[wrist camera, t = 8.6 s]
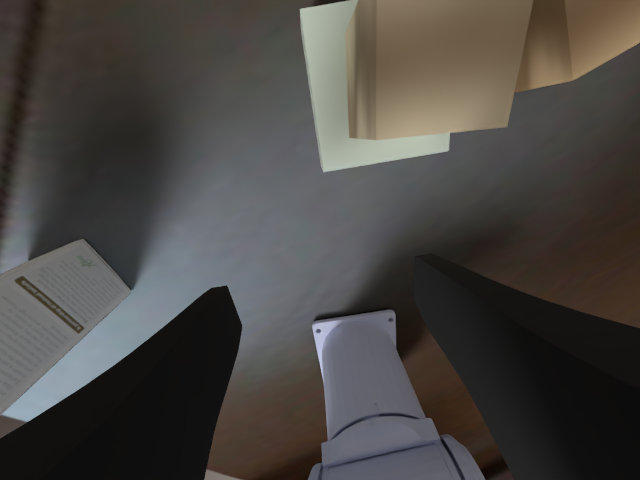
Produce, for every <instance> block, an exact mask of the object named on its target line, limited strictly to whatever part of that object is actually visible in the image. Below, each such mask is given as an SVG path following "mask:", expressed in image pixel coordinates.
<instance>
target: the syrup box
mask: <svg viewBox="0 0 640 480" xmlns="http://www.w3.org/2000/svg"><path fill="white" fill-rule="evenodd" d="M130 293H131V290H130V289H129V288H128V286H127V285H126V284H125V283H124V282H123V280H122V279H121V278H120V277H119V276H118V275H117V274H116V272H115V271H114V270H113V269H112V268H111V267H110V266H109V265H108V264H107V263H106V262H105V261H104V260H103V259H102V258H101V256H100V255H99V254H98V253H97V252H96V251H95V250H94V249H93V248H92V247H91V246H90V245H89V244H88V243H87V242H86V241H85V240H84V239H80V240H77V241H74V242H72V243H69V244H67V245H64V246H62V247H59V248H57V249H54V250H52V251H50V252H48V253H45V254H43V255H41V256H38V257H36V258H34V259H32V260H30V261H27V262H25V263H23V264H21V265H19V266H17V267H14V268H12V269H10V270H8V271H6V272H4V273H1V274H0V415H1V414H2V413H3V412H4V411H5V410H7V409H8V408H9V407H10V406H11V405H12V404H13V403H14V402H15V401H16V400H17V399H19V398H20V397H21V396H22V395H23V394H24V393H25V392H26V391H27V390H28V389H29V388H30V387H31V386H32V385H33V384H34V383H36V382H37V381H38V380H39V379H40V378H41V377H42V376H43V375H44V374H45V373H46V372H47V371H48V370H49V369H51V368H52V367H53V366H54V365H55V364H56V363H57V362H58V361H59V360H60V359H61V358H62V357H63V356H64V355H65V354H66V353H67V352H68V351H70V350H71V349H72V348H73V347H74V346H75V345H76V344H77V343H78V342H79V341H80V340H81V339H82V338H83V337H84V336H86V335H87V334H88V333H89V332H90V331H91V330H92V329H93V328H94V327H95V326H96V325H97V324H98V323H99V322H101V321H102V320H103V319H104V318H105V317H106V316H107V315H108V314H109V313H110V312H111V311H112V310H113V309H114V308H115V307H117V306H118V305H119V304H120V303H121V302H122V301H123V300H124V299H125V298H126V297H127V296H128V295H129V294H130Z"/></svg>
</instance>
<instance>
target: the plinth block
mask: <svg viewBox="0 0 640 480" xmlns="http://www.w3.org/2000/svg"><path fill="white" fill-rule="evenodd" d="M357 2H358V0H348V1H343V2H337V3H332V4H326V5H320V6H315V7H309V8H303V9H300V21H301V34H302V40H303V47H304V54H305V61H306V67H307V74H308V81H309V88H310V95H311V101H312V108H313V115H314V122H315V128H316V135H317V142H318V149H319V155H320V162H321V168H322V170H323V172H327V171H333V170H339V169H345V168H351V167H357V166H363V165H369V164H375V163H381V162H386V161H392V160H398V159H404V158H410V157H416V156H422V155H428V154H434V153H440V152H446V151H449V139H450V133H443V134H433V135H423V136H413V137H403V138H393V139H384V140H367V139H355V138H349V123H348V97H347V71H346V45H345V33H346V30H347V27H348V25H349V22H350V20H351V17H352V15H353V12H354V10H355V7H356V5H357Z"/></svg>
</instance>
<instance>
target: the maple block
mask: <svg viewBox="0 0 640 480" xmlns="http://www.w3.org/2000/svg"><path fill="white" fill-rule="evenodd" d="M532 5H533V0H358V2H357V5H356V7H355V10H354V12H353V15H352V17H351V20H350V22H349V25H348V27H347V30H346V33H345V45H346V71H347V97H348V123H349V138H355V139H367V140H384V139H393V138H403V137H413V136H423V135H433V134H443V133H452V132H462V131H472V130H482V129H492V128H502V127H507V125H508V120H509V115H510V111H511V106H512V101H513V96H514V91H515V86H516V82H517V77H518V72H519V67H520V62H521V58H522V53H523V48H524V43H525V38H526V34H527V29H528V24H529V19H530V14H531V10H532Z"/></svg>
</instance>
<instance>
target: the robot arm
mask: <svg viewBox="0 0 640 480" xmlns="http://www.w3.org/2000/svg"><path fill="white" fill-rule="evenodd" d="M413 299H414V302H415V304H416V306H417V308H418V310H419V312H420V314H421V316H422V318H423V320H424V322H425V324H426V326H427V327H428V329H429V330H430V332H431V333H432V335H433V337H434V338H435V340H436V341H437V343H438V344H439V346H440V347H441V349H442V350H443V352H444V353H445V355H446V357H447V358H448V360H449V361H450V363H451V364H452V366H453V367H454V369H455V370H456V372H457V373H458V375H459V376H460V378H461V380H462V381H463V383H464V385H465V386H466V388H467V390H468V391H469V393H470V395H471V396H472V398H473V400H474V402H475V404H476V406H477V408H478V410H479V411H480V413H481V415H482V417H483V419H484V421H485V423H486V425H487V426H488V428H489V430H490V432H491V434H492V436H493V438H494V440H495V442H496V444H497V446H498V448H499V450H500V452H501V454H502V456H503V458H504V460H505V462H506V464H507V466H508V468H509V470H510V472H511V474H512V476H513V478H514V480H640V328H636V327H633V326H629V325H625V324H622V323H618V322H614V321H611V320H607V319H603V318H600V317H597V316H593V315H590V314H586V313H583V312H580V311H576V310H573V309H570V308H567V307H564V306H561V305H558V304H555V303H552V302H549V301H546V300H543V299H540V298H537V297H534V296H532V295H529V294H526V293H524V292H521V291H519V290H516V289H513V288H511V287H508V286H506V285H503V284H501V283H498V282H496V281H493V280H491V279H489V278H486V277H484V276H482V275H479V274H477V273H475V272H472V271H470V270H468V269H466V268H463V267H461V266H459V265H457V264H454V263H452V262H450V261H448V260H445V259H443V258H441V257H438V256H435V255H433V254H427V255H421V256H415V268H414V298H413ZM389 318H391V319H389ZM312 328H313V333H314V338H315V343H316V348H317V353H318V357H319V362H320V367H321V372H322V377H323V382H324V392H325V405H326V419H327V432H328V441H327V442H324V443H322V463H319V464H316V465H314V467H313V468H312V470H311V473H310V476H309V478H308V480H485V478H484V476H483V474H482V472H481V471H480V469H479V467H478V465H477V464H476V462H475V461H474V459H473V457H472V456H471V454H470V453H469V452H468V450H467V449H466V448H465V447H464V446H463V445H462V444H460V443H459V442H458V441H456V440H455V439H454V438H453V437H452V436H451V435H448V434H445V435H441V436H440V437H439V435H438V432H437V430H436V428H435V426H434V423H433V421H432V419H431V418H425V415H424V413H423V411H422V408H421V406H420V404H419V401H418V399H417V396H416V394H415V392H414V389H413V387H412V385H411V382H410V380H409V378H408V375H407V373H406V371H405V368H404V366H403V364H402V361H401V359H400V357H399V354H398V352H397V350H396V315H395V312H394V311H393V310H383V311H377V312H370V313H364V314H357V315H351V316H344V317H337V318H331V319H324V320H318V321H314V322H313V324H312ZM317 329H320V330H317ZM241 331H242V324H241V321H240V319H239V316H238V313H237V311H236V308H235V305H234V303H233V300H232V297H231V295H230V292H229V289H228V287H227V286H221V287H215V288H211V289H209V290H208V291H206V292H205V293H204V294H203V295H201V296H200V297H199V298H198V299H196V300H195V301H194V302H193V303H192V304H190V305H189V306H188V307H187V308H186V309H185V310H183V311H182V312H181V313H180V314H179V315H177V316H176V317H175V318H174V319H173V320H171V321H170V322H169V323H168V324H167V325H165V326H164V327H163V328H162V329H161V330H159V331H158V332H157V333H156V334H154V335H153V336H152V337H150V338H149V339H148V340H147V341H145V342H144V343H143V344H142V345H140V346H139V347H138V348H137V349H135V350H134V351H133V352H131V353H130V354H129V355H127V356H126V357H125V358H123V359H122V360H121V361H119V362H118V363H117V364H115V365H114V366H113V367H111V368H110V369H108V370H107V371H105V372H104V373H103V374H101V375H100V376H98V377H97V378H95V379H94V380H92V381H91V382H90V383H88V384H87V385H85V386H84V387H82V388H81V389H79V390H78V391H76V392H74V393H73V394H71V395H70V396H68V397H67V398H65V399H63V400H62V401H60V402H59V403H57V404H56V405H54V406H52V407H51V408H49V409H48V410H46V411H45V412H43V413H41V414H40V415H38V416H37V417H35V418H34V419H32V420H30V421H29V422H27V423H26V424H24V425H22V426H21V427H19V428H17V429H16V430H14V431H12V432H11V433H9V434H7V435H5V436H4V437H2V438H1V439H0V480H204V478H205V472H206V467H207V463H208V458H209V453H210V449H211V444H212V439H213V435H214V431H215V427H216V423H217V419H218V416H219V413H220V409H221V406H222V403H223V400H224V396H225V393H226V390H227V387H228V383H229V380H230V377H231V374H232V370H233V367H234V363H235V360H236V357H237V353H238V349H239V343H240V337H241Z"/></svg>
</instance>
